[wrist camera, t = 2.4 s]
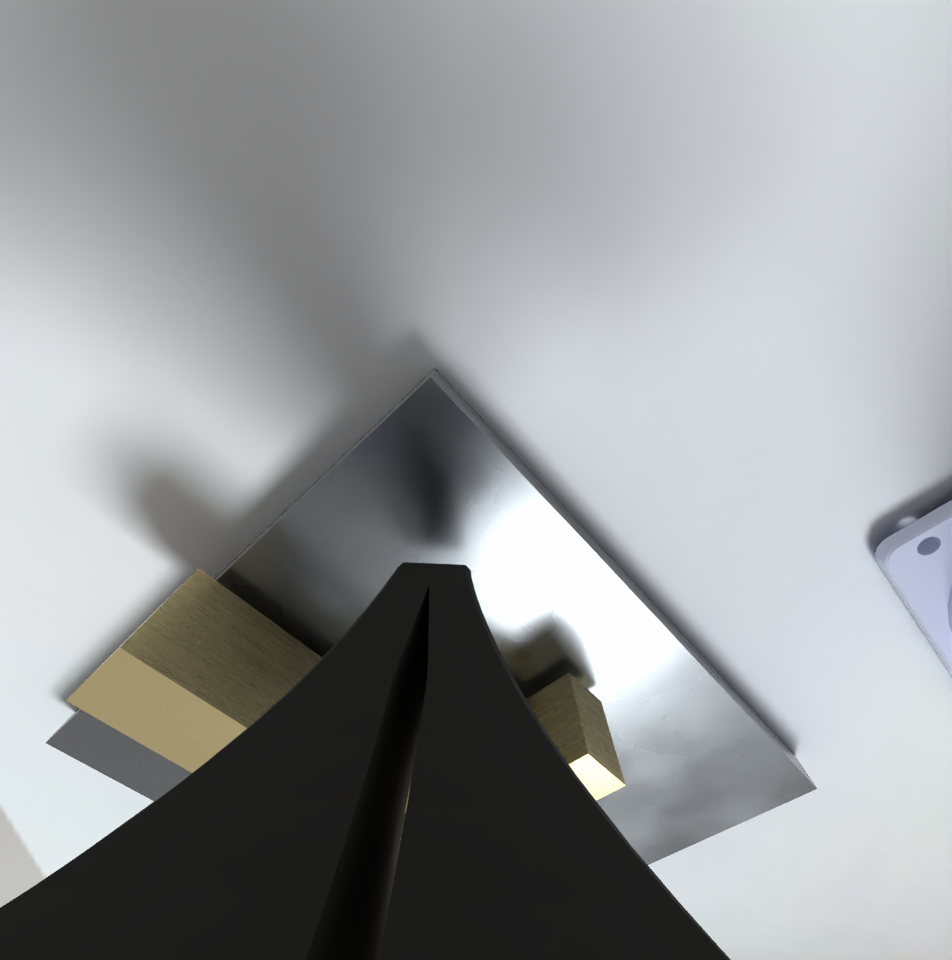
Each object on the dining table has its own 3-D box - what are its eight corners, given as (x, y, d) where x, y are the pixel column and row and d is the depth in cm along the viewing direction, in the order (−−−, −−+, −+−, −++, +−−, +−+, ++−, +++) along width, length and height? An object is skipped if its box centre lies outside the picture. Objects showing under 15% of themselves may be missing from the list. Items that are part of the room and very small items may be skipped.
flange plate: (435, 368, 10) (408, 418, 6) (803, 764, 15) (908, 921, 11) (73, 713, 14) (-68, 862, 11) (453, 929, 19) (447, 1080, 16)
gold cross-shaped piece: (694, 786, 13) (740, 894, 11) (435, 913, 16) (427, 1020, 14) (321, 447, 9) (266, 504, 7) (64, 699, 12) (-37, 801, 10)
